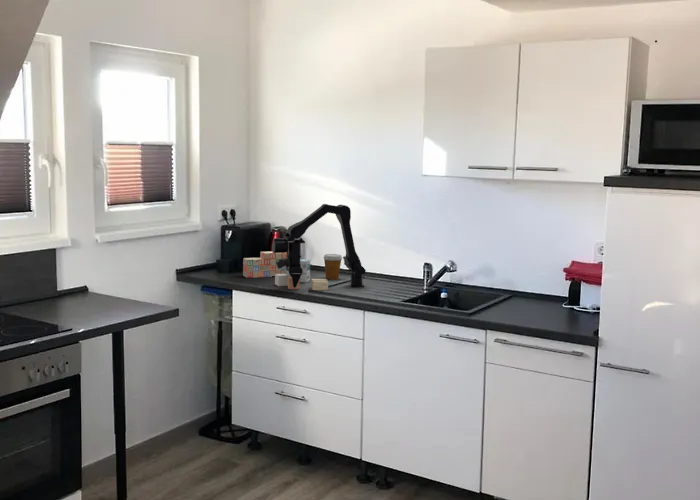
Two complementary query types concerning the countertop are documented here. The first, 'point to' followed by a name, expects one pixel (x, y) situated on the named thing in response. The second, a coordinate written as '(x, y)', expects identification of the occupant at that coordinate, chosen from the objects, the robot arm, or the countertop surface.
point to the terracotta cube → (290, 284)
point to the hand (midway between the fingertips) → (293, 285)
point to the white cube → (281, 279)
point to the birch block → (319, 284)
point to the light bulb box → (304, 270)
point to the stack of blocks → (263, 265)
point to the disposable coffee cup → (332, 266)
